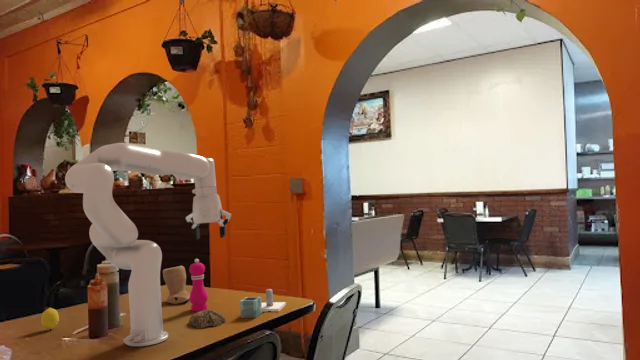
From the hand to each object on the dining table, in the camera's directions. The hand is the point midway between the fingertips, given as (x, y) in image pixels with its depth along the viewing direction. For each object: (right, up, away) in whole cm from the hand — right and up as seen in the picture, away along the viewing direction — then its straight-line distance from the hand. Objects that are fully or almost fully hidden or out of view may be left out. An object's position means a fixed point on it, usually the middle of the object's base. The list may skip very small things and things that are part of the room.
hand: (210, 238), depth 174 cm
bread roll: (+1, -29, -8) cm, 31 cm away
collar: (+16, -28, -2) cm, 32 cm away
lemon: (-56, -33, -5) cm, 65 cm away
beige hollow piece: (-21, -31, +30) cm, 48 cm away
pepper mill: (-7, -30, +13) cm, 33 cm away
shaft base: (+21, -28, +7) cm, 36 cm away
